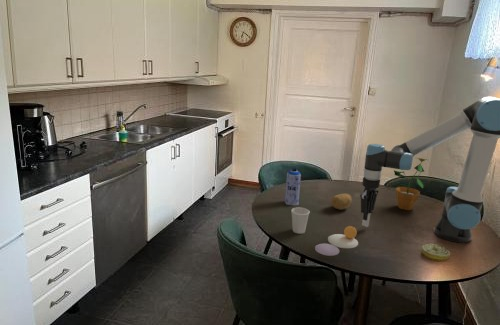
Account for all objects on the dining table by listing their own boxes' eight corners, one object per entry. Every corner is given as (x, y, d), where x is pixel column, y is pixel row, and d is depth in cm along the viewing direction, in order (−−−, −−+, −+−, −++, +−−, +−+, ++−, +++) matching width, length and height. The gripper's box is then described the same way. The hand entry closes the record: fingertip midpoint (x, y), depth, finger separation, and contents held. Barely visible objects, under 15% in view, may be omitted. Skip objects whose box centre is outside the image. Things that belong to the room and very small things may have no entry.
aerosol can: (283, 204, 202) (285, 168, 197) (286, 199, 210) (288, 165, 204) (297, 206, 200) (300, 170, 195) (300, 201, 207) (302, 167, 202)
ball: (356, 241, 165) (360, 229, 166) (352, 238, 161) (355, 226, 162) (345, 237, 168) (348, 226, 169) (340, 235, 164) (344, 223, 165)
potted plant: (430, 211, 201) (440, 158, 193) (403, 215, 194) (412, 160, 186) (406, 200, 217) (414, 150, 209) (380, 203, 210) (387, 151, 202)
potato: (355, 207, 201) (357, 194, 199) (341, 214, 192) (343, 200, 190) (340, 202, 208) (341, 189, 206) (325, 208, 198) (327, 194, 196)
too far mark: (344, 250, 154) (344, 250, 154) (330, 258, 147) (330, 257, 147) (324, 241, 161) (324, 241, 161) (310, 248, 154) (310, 248, 154)
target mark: (363, 242, 162) (363, 241, 162) (347, 251, 153) (347, 251, 153) (338, 231, 171) (338, 231, 171) (321, 240, 162) (321, 239, 162)
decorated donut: (447, 253, 156) (449, 245, 155) (450, 265, 147) (452, 256, 146) (420, 247, 160) (422, 239, 159) (421, 259, 150) (423, 250, 149)
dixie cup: (310, 229, 172) (312, 209, 170) (303, 236, 165) (305, 215, 163) (294, 225, 176) (295, 205, 174) (286, 231, 169) (288, 211, 167)
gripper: (371, 173, 176) (365, 219, 182) (356, 178, 167) (350, 226, 173) (386, 177, 170) (379, 224, 177) (372, 182, 162) (365, 232, 168)
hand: (365, 225), depth 175 cm, fingers closed
